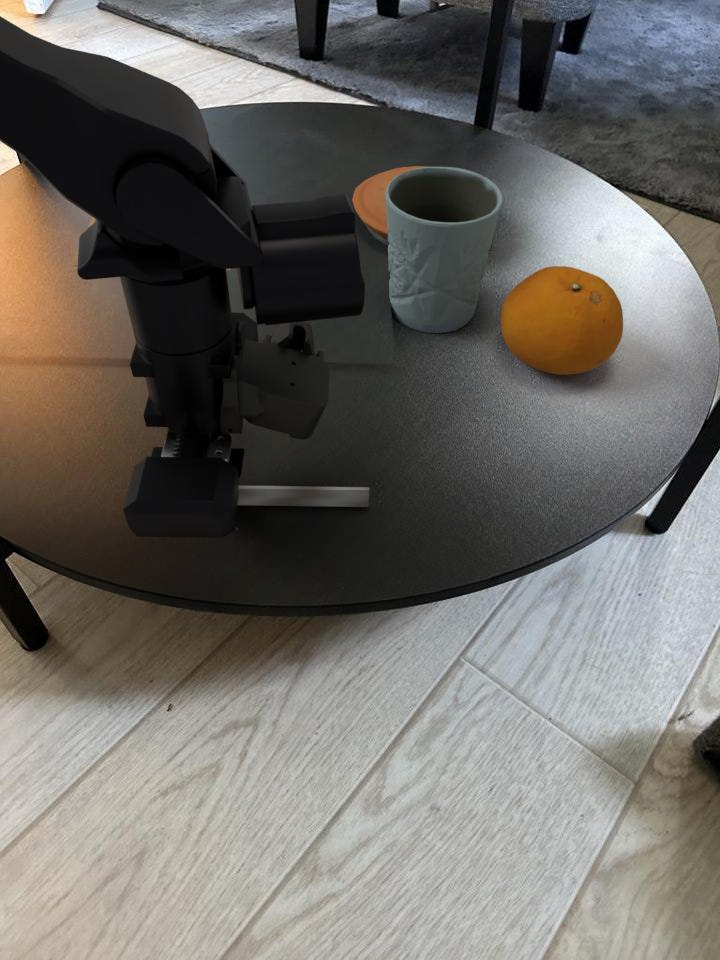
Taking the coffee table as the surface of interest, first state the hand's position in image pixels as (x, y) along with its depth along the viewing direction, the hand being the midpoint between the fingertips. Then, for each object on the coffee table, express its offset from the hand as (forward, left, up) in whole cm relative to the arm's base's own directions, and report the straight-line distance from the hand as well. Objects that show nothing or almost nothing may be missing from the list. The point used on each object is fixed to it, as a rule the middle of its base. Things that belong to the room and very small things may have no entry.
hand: (214, 495), depth 55 cm
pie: (+18, +40, -1) cm, 43 cm away
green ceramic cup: (+18, +26, -1) cm, 31 cm away
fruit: (+29, +19, -1) cm, 34 cm away
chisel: (+3, 0, -1) cm, 3 cm away
